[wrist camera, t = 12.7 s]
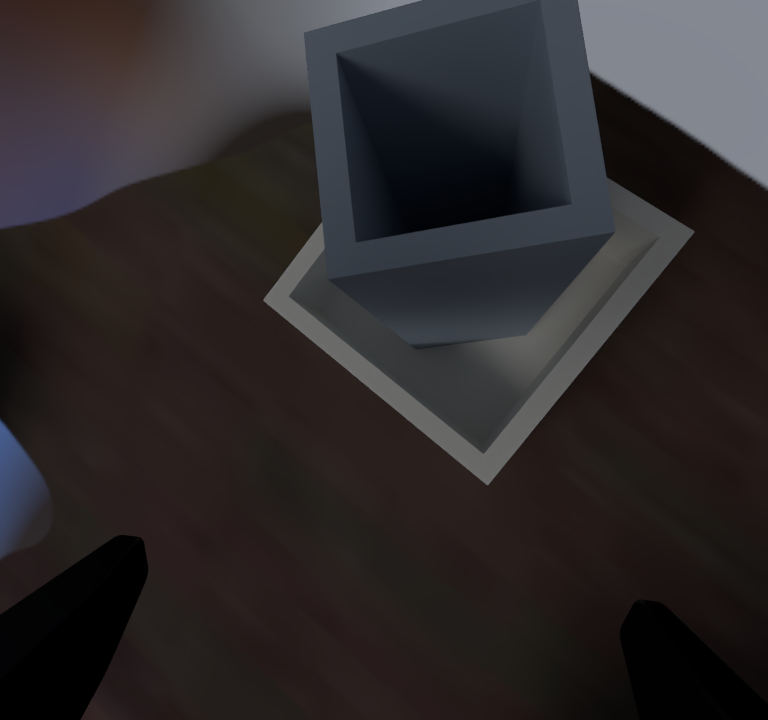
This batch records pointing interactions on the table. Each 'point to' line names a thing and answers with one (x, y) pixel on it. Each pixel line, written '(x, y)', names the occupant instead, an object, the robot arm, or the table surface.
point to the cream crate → (490, 357)
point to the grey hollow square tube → (457, 164)
